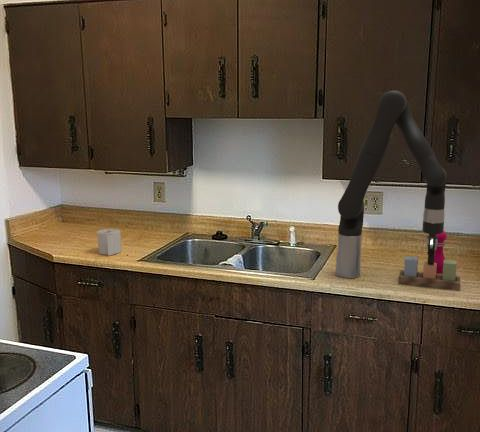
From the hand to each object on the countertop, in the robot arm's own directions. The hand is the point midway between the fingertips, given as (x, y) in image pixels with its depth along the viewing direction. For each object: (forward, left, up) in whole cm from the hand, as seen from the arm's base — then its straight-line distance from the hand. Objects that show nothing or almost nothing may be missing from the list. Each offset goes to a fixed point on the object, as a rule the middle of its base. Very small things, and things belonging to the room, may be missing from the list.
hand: (430, 264), depth 208 cm
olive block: (+7, 0, -5) cm, 9 cm away
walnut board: (0, 0, -8) cm, 8 cm away
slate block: (-7, 0, -5) cm, 9 cm away
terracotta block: (0, 0, -7) cm, 7 cm away
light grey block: (-142, -5, -8) cm, 142 cm away
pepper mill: (+2, +14, -8) cm, 16 cm away
